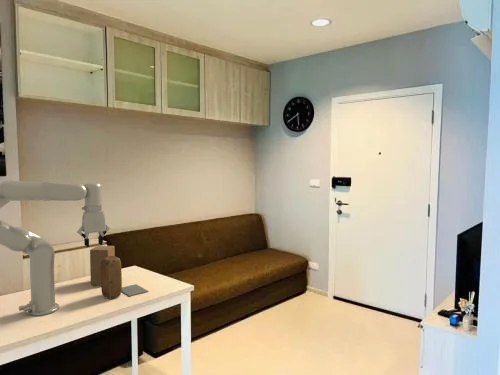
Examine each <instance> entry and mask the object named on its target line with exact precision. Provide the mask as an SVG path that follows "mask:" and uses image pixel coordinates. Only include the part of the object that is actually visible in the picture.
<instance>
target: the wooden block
mask: <svg viewBox="0 0 500 375" xmlns="http://www.w3.org/2000/svg"><path fill="white" fill-rule="evenodd" d="M115 252H116V250H115V245H96V246H94V247H92V248H91V249H89V264H90V265H89V266H90V268H89V269H90V273H89V274H90V285H91V286H101V285H102V282H101V275H100V266H101V262H102V260H103V258H105V257H109V256H116V255H115Z"/></svg>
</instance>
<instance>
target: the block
mask: <svg viewBox="0 0 500 375" xmlns="http://www.w3.org/2000/svg"><path fill="white" fill-rule="evenodd" d="M122 272H123V271H122V262H121V258H120V257H118V256H116V255H115V256H109V257H105V258H103V260H102V262H101V266H100V275H101V282H102V285H100V286H101V295H102V296H103V298H106V299H108V300H113V299H117V298H119V297H120V296H121V295H122V292H121V291H122V287H123V284H122V283H123V282H122V281H123V279H122V277H123V276H122Z"/></svg>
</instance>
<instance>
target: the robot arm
mask: <svg viewBox="0 0 500 375" xmlns="http://www.w3.org/2000/svg"><path fill="white" fill-rule="evenodd" d="M81 200H84V205H83V206H82V207H81V211H82V210H83V213H82V216H81V217H82V218H81V226H80V227H79V229H78V230H77V231H76V234H78V235H80V236H81V237H82V238H83V239H84V240H83V241H84V242H83V243H84V246H85V247H87V248H89V247H90V238H89V235H90V234H93V233H98V245H99V246H103V243H104V236H105V235H106V234H107V232H109V230H110V227H109V226H108V225H107V223H106V219H105V218H106V216H105V212H104V210H102V209H103V208H102V204H103V203H102V185H101V184H100V183H97V182H88V183H79V182H71V183H53V182H49V181H48V182H47V181H38V180H37V181H34V180H33V181H30V180H29V181H27V180H26V181H25V180H9V179H7V180H4V181H2V182H0V210H1V209H2V208H3V207H4V206H6V205H7V204H9V203H10V202H11V201H13V202H14V201H18V202H19V201H44V202H45V201H48V202H49V201H61V202H62V201H63V202H64V201H74V202H75V201H81ZM83 232H84V233H83ZM0 245H1V246H4V247H5V248H8V249H9V250H10V251H13V252H22V253H24V254H26V255H28V256H29V279H30V280H29V281H30V301H28V303H27V304H25V305H20V306H18V311H19V312H20V311H23V312H27V314H28V315H29V316H38V317H39V316H46V315H49V314H52V313H55V312H56V311H57V310H59V308H60V305H59V304H58V302H56V289H55V286H56V285H55V284H56V283H55V256H56V255H55V250H54V247H53V245H52V244H51V242H49V241H48V240H47V239H46V238H43V237H42V236H40V235H37V234H36V233H34V232H32V231H30V230H29V229H27V228H24V227H19V226H13V225H11V224H9V223H7V222H6V221H4V220H1V219H0Z"/></svg>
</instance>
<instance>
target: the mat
mask: <svg viewBox="0 0 500 375" xmlns="http://www.w3.org/2000/svg"><path fill="white" fill-rule="evenodd" d="M148 292H149V290H147V289H146V288H144V287H142V286H140V285H139V284H137V283H135V284H132V285H127V286H122V291H121V293H123V294H124V295H126V296H127V297H129V298H130V297H135V296H137V295H142V294H145V293H148Z"/></svg>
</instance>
